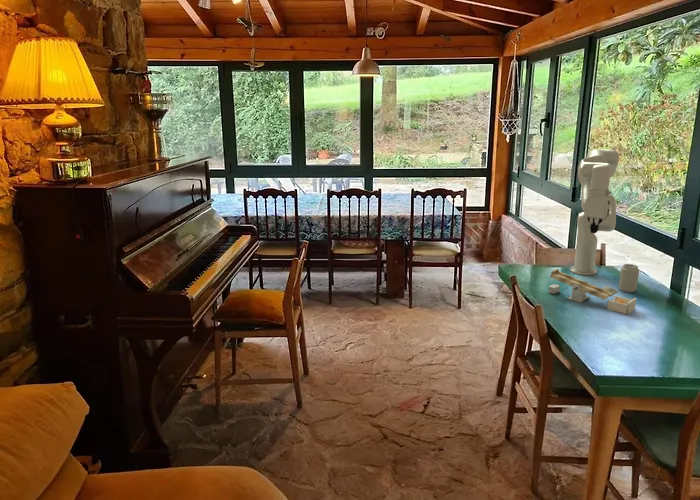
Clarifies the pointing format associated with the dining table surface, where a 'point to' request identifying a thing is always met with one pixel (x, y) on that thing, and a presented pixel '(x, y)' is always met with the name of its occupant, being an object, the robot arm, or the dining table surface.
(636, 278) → the can
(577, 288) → the fulcrum
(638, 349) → the dining table surface
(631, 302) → the dish
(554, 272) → the lever
